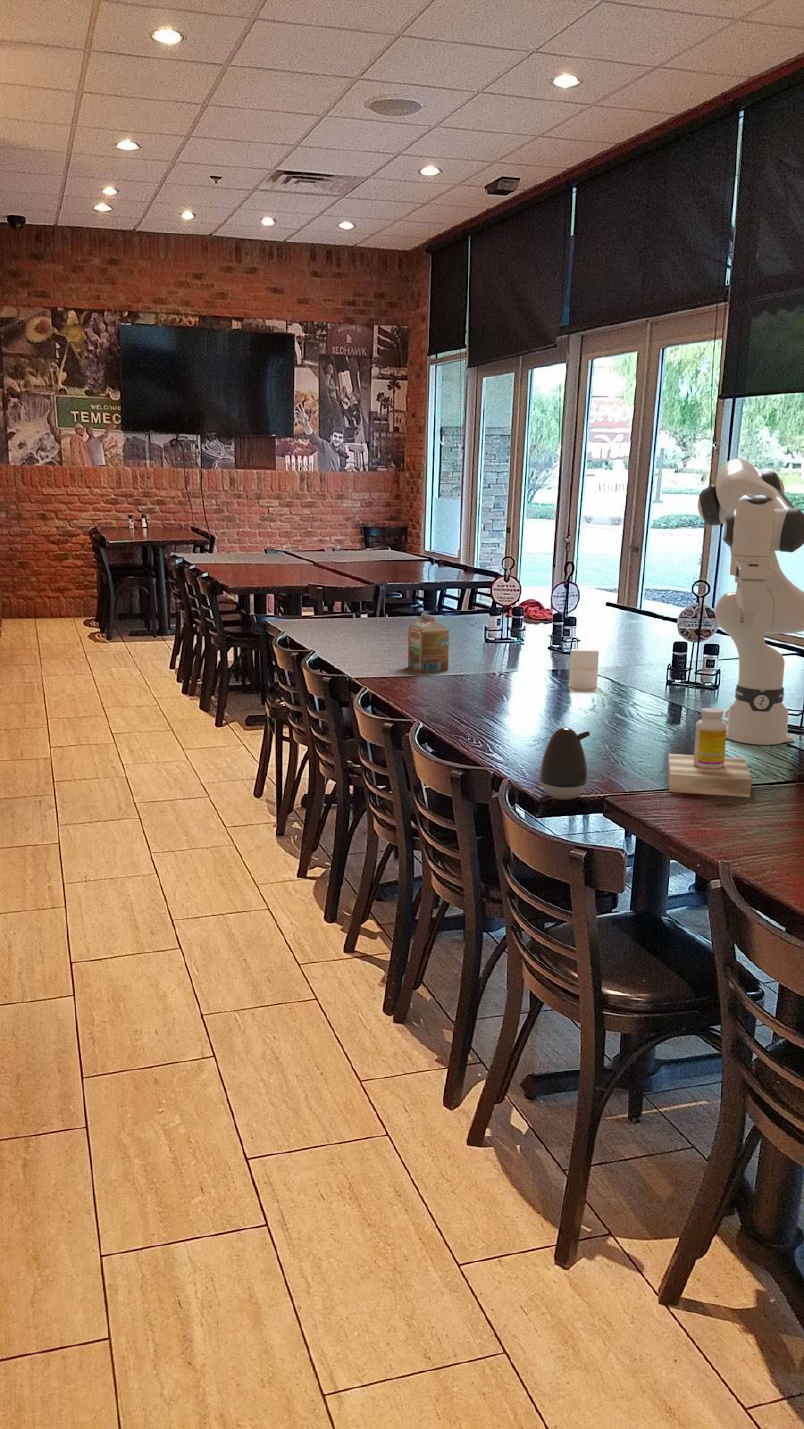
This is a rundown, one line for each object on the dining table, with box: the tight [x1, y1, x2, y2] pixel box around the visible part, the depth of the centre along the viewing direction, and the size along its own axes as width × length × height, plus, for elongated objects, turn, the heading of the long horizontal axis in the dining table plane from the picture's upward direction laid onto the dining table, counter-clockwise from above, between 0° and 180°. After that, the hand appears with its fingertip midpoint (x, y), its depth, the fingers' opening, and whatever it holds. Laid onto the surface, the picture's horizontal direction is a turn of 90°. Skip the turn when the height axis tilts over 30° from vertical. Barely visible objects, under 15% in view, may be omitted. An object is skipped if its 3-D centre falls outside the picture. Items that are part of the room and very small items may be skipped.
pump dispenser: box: [539, 727, 591, 801], centre depth 233 cm, size 10×10×15 cm
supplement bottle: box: [693, 707, 727, 769], centre depth 243 cm, size 7×7×13 cm
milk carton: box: [407, 613, 450, 673], centre depth 381 cm, size 11×10×19 cm
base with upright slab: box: [568, 648, 600, 690], centre depth 353 cm, size 9×9×12 cm
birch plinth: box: [666, 753, 753, 798], centre depth 245 cm, size 18×17×4 cm
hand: (745, 628), depth 250 cm, fingers open, 8 cm apart
